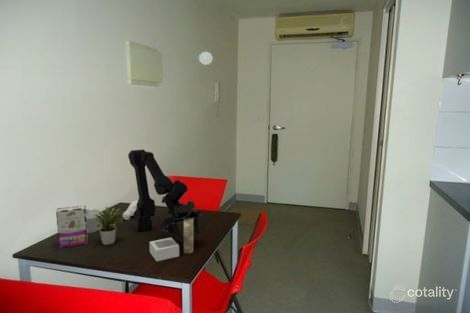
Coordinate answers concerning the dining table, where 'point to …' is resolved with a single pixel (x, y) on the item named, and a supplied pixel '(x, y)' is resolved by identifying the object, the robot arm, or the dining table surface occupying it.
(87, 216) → the lumpy-topped squat cylinder
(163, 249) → the end cap
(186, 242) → the dowel
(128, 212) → the penguin figurine
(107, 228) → the house plant
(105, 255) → the dining table surface
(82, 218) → the candy bar box
